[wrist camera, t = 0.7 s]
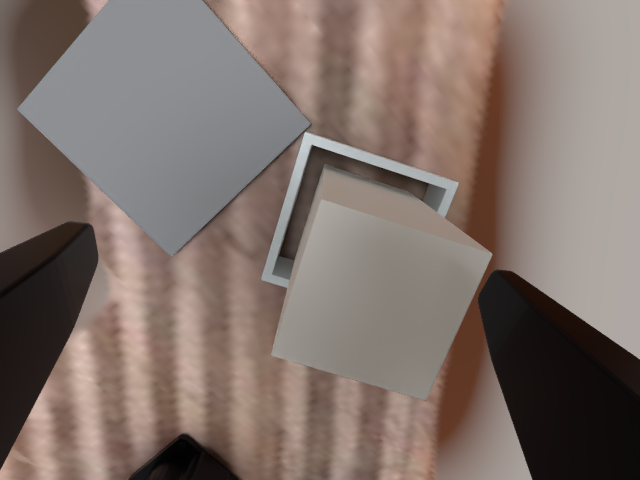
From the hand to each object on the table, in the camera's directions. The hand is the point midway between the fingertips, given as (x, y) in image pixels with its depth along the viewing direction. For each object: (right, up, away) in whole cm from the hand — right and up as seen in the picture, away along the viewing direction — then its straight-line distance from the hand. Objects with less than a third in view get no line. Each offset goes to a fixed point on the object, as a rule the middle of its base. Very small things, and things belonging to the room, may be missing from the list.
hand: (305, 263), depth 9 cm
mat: (-9, +8, +15) cm, 19 cm away
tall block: (+2, +2, +16) cm, 17 cm away
